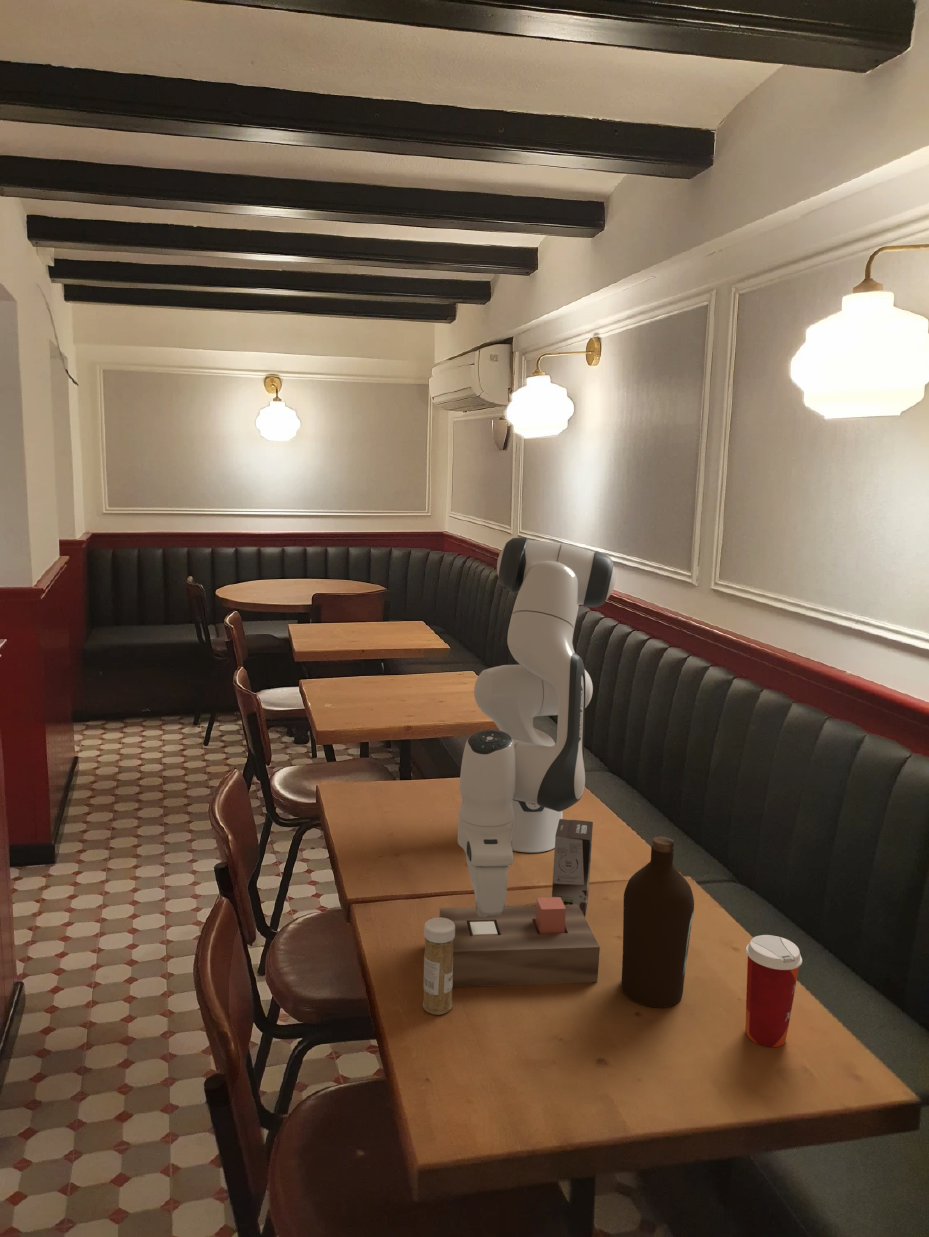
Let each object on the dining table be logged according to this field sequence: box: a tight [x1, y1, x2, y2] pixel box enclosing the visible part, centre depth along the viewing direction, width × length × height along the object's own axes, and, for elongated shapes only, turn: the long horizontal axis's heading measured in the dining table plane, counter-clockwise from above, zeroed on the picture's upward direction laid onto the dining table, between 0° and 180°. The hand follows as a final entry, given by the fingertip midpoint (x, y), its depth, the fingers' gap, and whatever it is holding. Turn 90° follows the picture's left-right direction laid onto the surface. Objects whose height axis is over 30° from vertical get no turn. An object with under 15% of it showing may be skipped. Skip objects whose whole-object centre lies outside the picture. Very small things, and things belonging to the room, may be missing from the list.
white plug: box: [469, 921, 498, 936], centre depth 148 cm, size 4×4×6 cm
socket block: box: [439, 904, 601, 988], centre depth 149 cm, size 14×24×6 cm, turn 97°
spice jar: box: [422, 917, 455, 1016], centre depth 135 cm, size 5×5×14 cm
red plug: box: [535, 896, 566, 934], centre depth 149 cm, size 4×4×6 cm
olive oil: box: [621, 836, 695, 1009], centre depth 140 cm, size 11×11×25 cm
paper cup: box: [745, 934, 803, 1048], centre depth 131 cm, size 8×8×14 cm
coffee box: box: [551, 818, 594, 918], centre depth 166 cm, size 9×6×16 cm
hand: (481, 912), depth 148 cm, fingers closed
